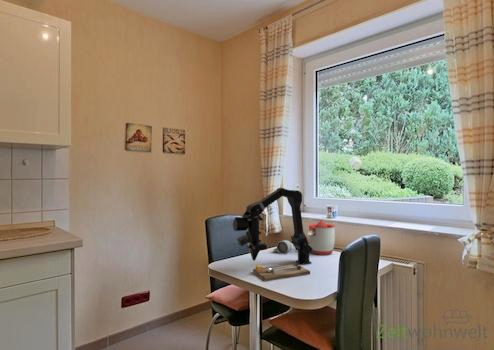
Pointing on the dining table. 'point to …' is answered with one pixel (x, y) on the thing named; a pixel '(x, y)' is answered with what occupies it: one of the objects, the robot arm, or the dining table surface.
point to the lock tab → (259, 268)
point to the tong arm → (278, 268)
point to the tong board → (281, 272)
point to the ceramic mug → (283, 246)
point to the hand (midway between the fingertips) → (253, 260)
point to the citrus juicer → (321, 237)
